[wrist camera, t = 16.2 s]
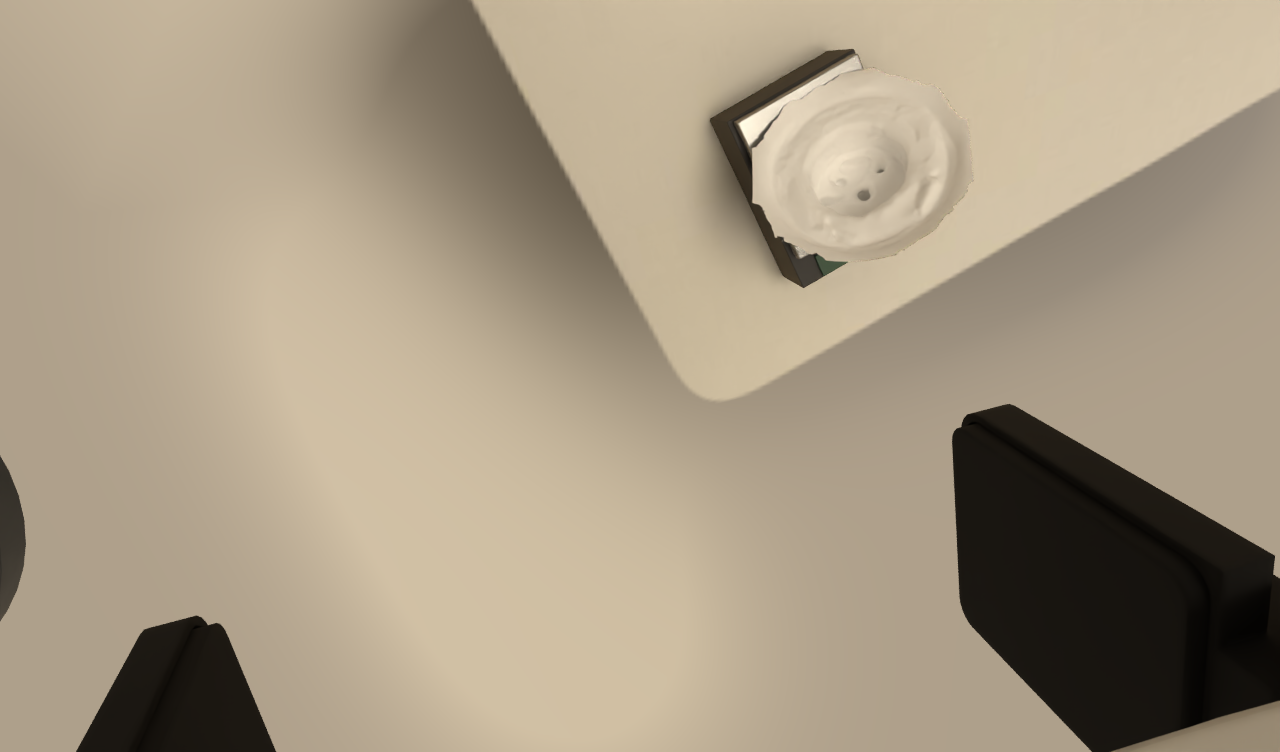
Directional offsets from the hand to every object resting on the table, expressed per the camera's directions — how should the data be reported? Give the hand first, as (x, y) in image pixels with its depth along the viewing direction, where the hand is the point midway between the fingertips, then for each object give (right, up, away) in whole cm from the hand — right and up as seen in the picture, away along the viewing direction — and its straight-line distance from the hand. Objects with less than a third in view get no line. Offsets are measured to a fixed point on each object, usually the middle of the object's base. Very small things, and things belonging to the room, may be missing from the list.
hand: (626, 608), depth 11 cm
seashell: (+8, +12, +25) cm, 29 cm away
